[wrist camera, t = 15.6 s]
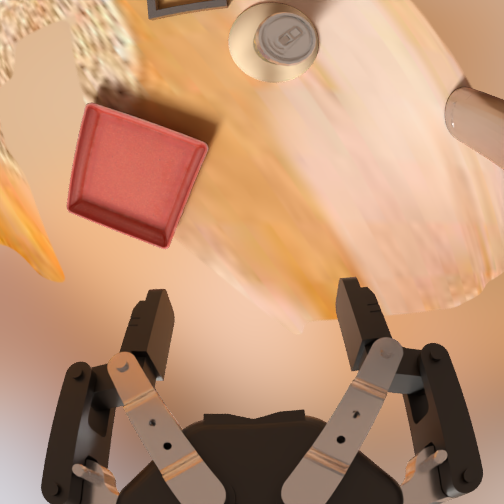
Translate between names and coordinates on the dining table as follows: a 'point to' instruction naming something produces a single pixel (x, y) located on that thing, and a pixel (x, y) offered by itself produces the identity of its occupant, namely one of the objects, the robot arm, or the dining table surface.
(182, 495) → the robot arm
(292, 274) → the dining table surface
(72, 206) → the plant saucer
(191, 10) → the collar
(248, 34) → the coaster
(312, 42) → the beer can
